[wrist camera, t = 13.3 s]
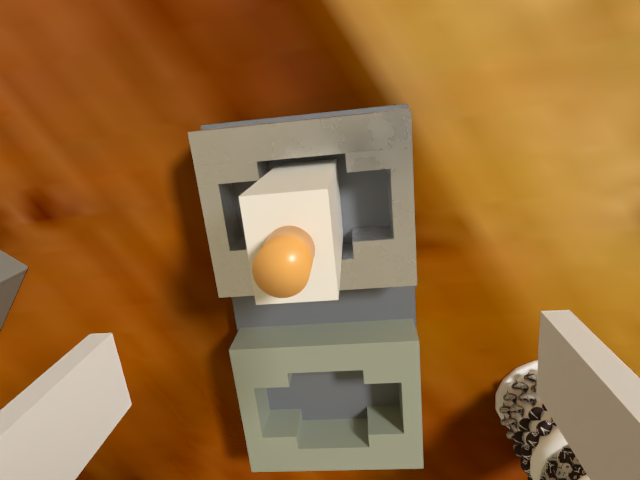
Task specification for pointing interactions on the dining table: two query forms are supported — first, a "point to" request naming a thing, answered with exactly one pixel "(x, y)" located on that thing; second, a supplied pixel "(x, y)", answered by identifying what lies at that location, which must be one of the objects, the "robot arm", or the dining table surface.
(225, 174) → the socket
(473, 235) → the dining table surface
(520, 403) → the decorative candle
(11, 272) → the digital clock
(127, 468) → the dining table surface
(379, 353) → the grey-green cross cutout frame
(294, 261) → the plug
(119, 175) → the dining table surface
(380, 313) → the board
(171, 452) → the dining table surface
